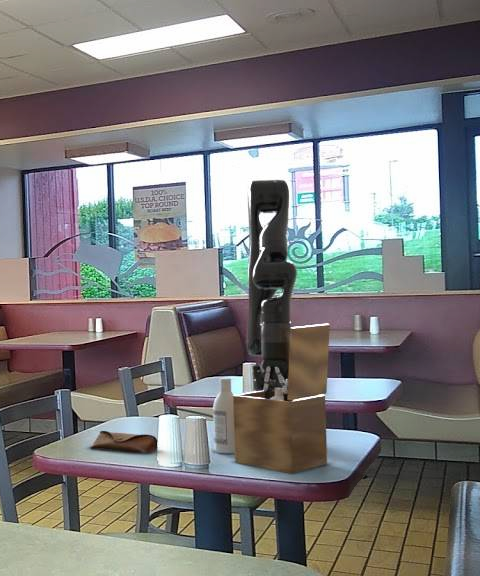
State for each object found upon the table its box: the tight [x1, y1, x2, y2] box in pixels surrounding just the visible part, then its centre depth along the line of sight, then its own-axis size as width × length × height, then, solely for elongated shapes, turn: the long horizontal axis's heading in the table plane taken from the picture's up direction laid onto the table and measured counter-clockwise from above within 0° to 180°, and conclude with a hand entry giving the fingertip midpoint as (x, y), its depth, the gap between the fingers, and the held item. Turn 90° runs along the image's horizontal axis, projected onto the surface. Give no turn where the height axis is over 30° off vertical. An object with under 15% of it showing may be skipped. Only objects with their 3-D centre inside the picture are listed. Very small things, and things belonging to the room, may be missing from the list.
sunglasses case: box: [89, 430, 158, 453], centre depth 233 cm, size 18×7×7 cm
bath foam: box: [212, 377, 235, 455], centre depth 224 cm, size 7×7×20 cm
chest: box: [233, 390, 328, 474], centre depth 209 cm, size 17×15×17 cm
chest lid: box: [288, 323, 331, 400], centre depth 201 cm, size 18×15×1 cm
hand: (278, 406), depth 209 cm, fingers closed on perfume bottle, 4 cm apart
